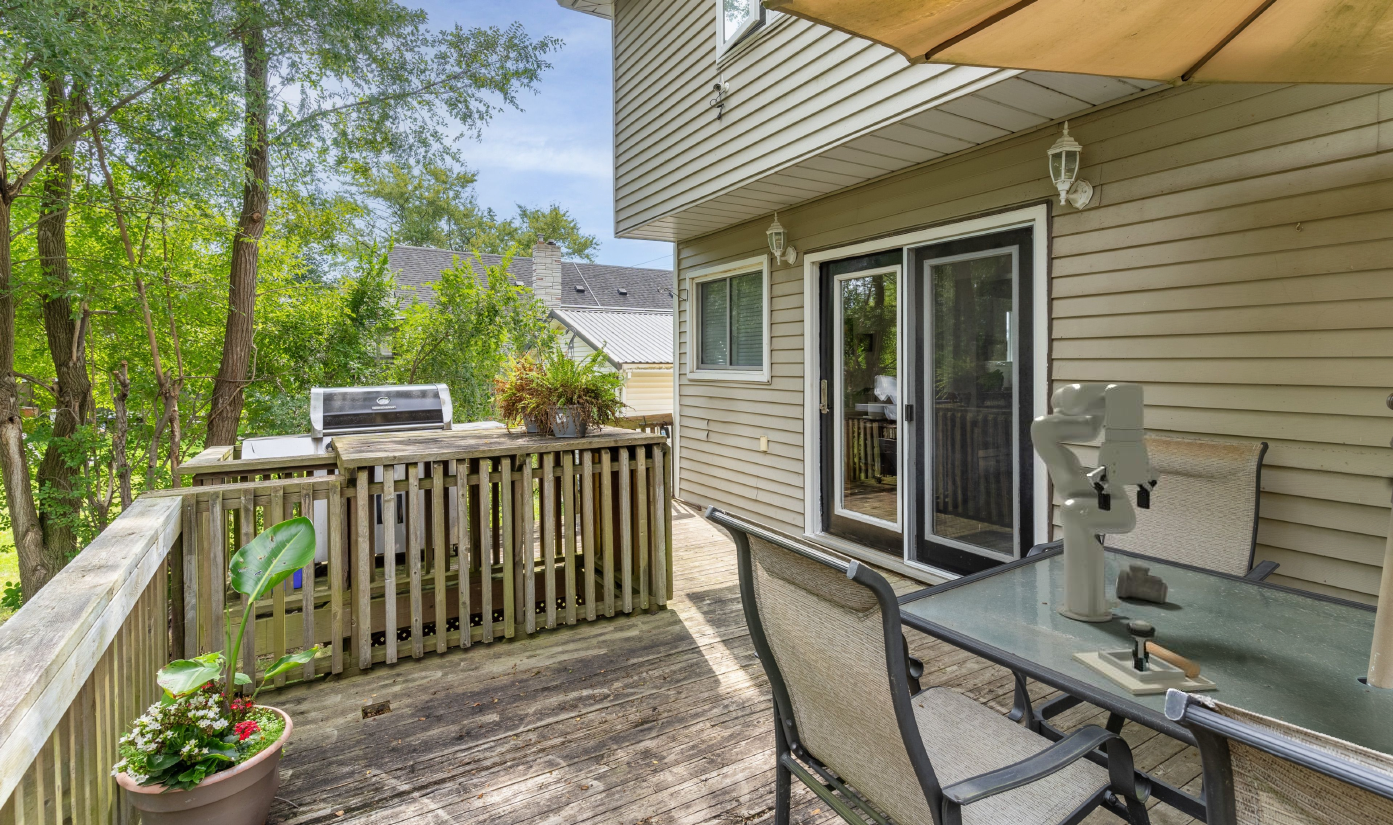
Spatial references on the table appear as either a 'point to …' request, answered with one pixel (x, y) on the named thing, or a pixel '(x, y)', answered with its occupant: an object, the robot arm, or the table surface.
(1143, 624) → the push button
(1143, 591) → the pipe fitting
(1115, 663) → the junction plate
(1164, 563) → the table surface
